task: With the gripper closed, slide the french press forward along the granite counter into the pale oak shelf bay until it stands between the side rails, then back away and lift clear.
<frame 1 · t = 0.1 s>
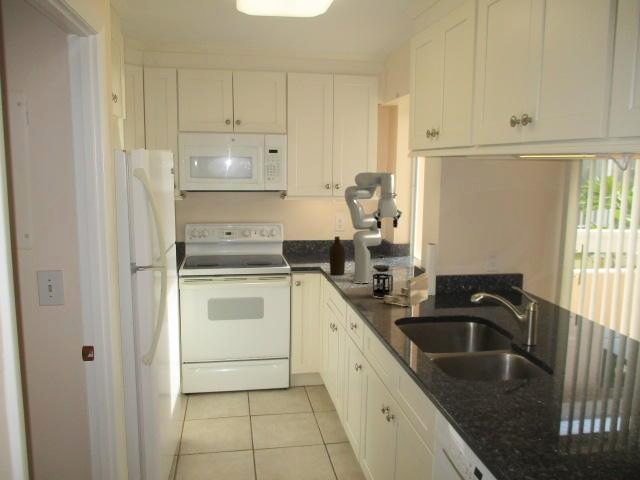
hand: (387, 227, 264), 37 cm above the worktop, tool pointing down, fingers open, 9 cm apart
olive oil: (337, 274, 323), on the worktop
shelf bay: (405, 300, 257), on the worktop
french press: (381, 297, 265), on the worktop
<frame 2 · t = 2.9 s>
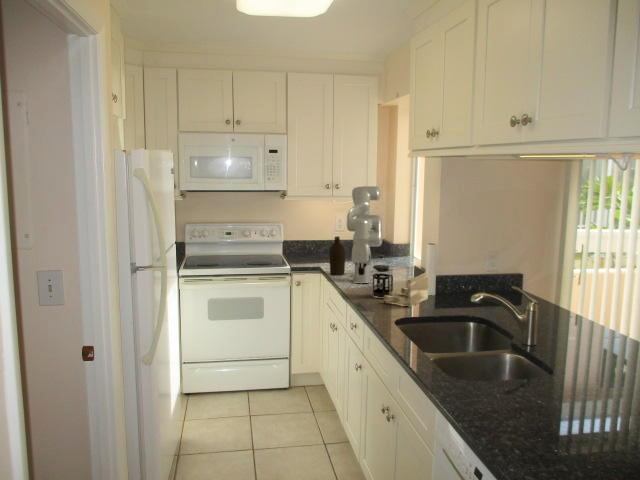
hand: (361, 274, 270), 11 cm above the worktop, tool pointing down, fingers closed
nothing on the worktop moved.
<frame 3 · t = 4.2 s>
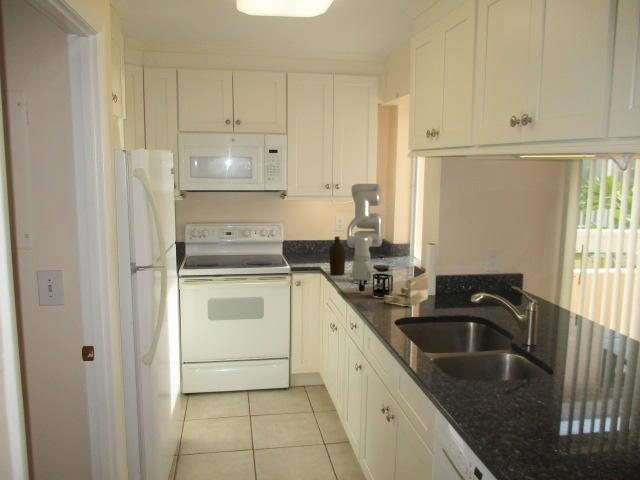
hand: (361, 291, 272), 1 cm above the worktop, tool pointing down, fingers closed
nothing on the worktop moved.
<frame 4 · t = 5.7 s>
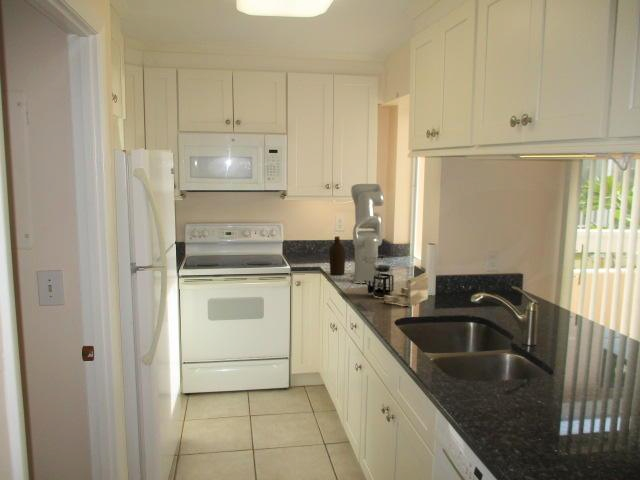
hand: (370, 292, 269), 1 cm above the worktop, tool pointing down, fingers closed
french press: (382, 297, 265), on the worktop, touching gripper
everything else where it was.
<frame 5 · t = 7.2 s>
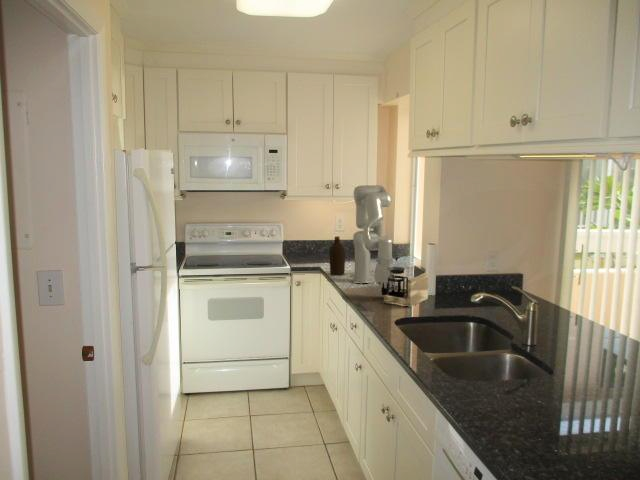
hand: (384, 294, 264), 1 cm above the worktop, tool pointing down, fingers closed
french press: (396, 299, 260), on the worktop, touching gripper
everything else where it was.
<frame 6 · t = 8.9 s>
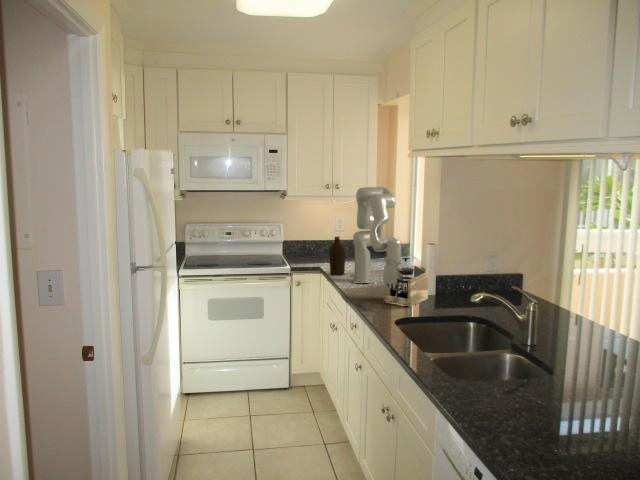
hand: (393, 296, 261), 1 cm above the worktop, tool pointing down, fingers closed
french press: (405, 301, 257), on the worktop, touching gripper
everything else where it was.
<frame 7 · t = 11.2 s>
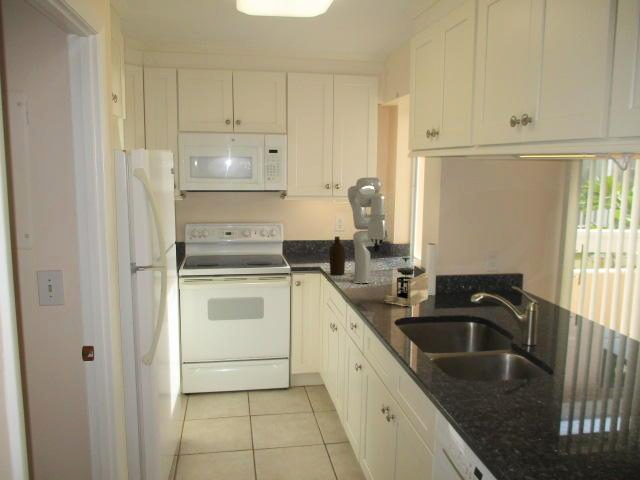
hand: (377, 251, 263), 25 cm above the worktop, tool pointing down, fingers closed
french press: (405, 301, 257), on the worktop
everything else where it was.
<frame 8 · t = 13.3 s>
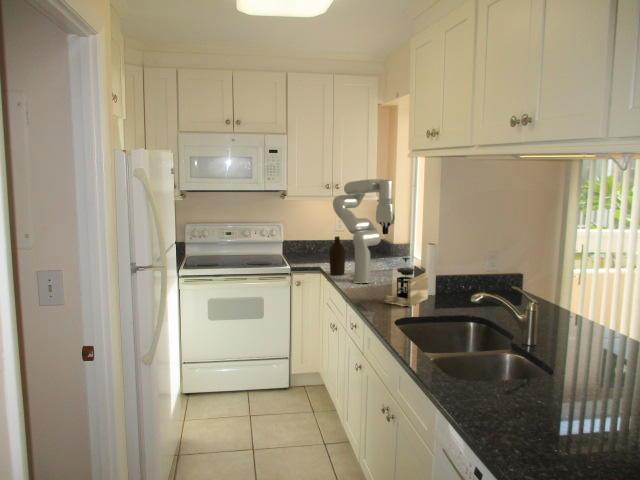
hand: (385, 234, 277), 32 cm above the worktop, tool pointing down, fingers closed
nothing on the worktop moved.
at the end: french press inside the target area on the shelf bay (0.1 cm from its centre), point 0.0 cm above the shelf bay's base; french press tilted 0°; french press moved 14.4 cm from its start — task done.
